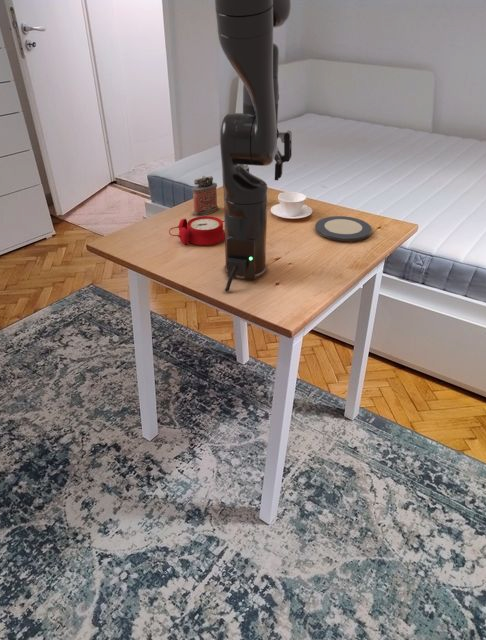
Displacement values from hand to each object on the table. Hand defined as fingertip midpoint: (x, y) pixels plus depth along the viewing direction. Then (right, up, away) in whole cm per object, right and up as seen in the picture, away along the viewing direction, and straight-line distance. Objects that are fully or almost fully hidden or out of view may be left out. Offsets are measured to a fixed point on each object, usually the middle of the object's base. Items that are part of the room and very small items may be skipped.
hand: (259, 177), depth 112 cm
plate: (+23, -8, +18) cm, 30 cm away
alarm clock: (-15, -11, +14) cm, 24 cm away
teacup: (+10, -1, +27) cm, 29 cm away
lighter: (-15, 0, +29) cm, 32 cm away
